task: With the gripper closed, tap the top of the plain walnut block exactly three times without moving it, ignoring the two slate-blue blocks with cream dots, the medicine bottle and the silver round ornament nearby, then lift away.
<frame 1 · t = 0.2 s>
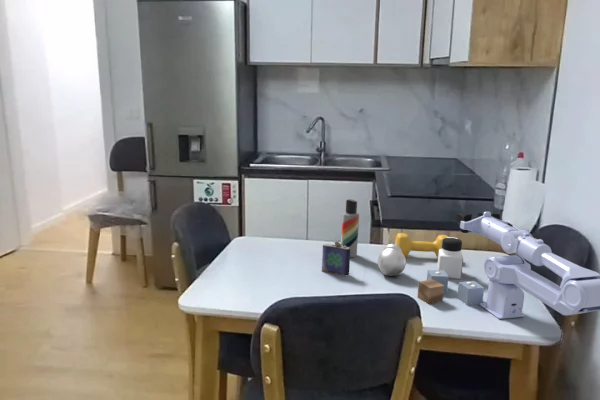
hand: (467, 216, 162), 21 cm above the table, tool horizontal, fingers open, 7 cm apart
medicine bottle: (448, 274, 174), on the table
lotion bottle: (348, 255, 189), on the table
dumbbell: (421, 257, 190), on the table
flask: (335, 273, 172), on the table
walnut block: (429, 299, 154), on the table
dotted block B: (469, 301, 154), on the table
silver round ornament: (390, 275, 172), on the table
dotted block A: (436, 288, 162), on the table
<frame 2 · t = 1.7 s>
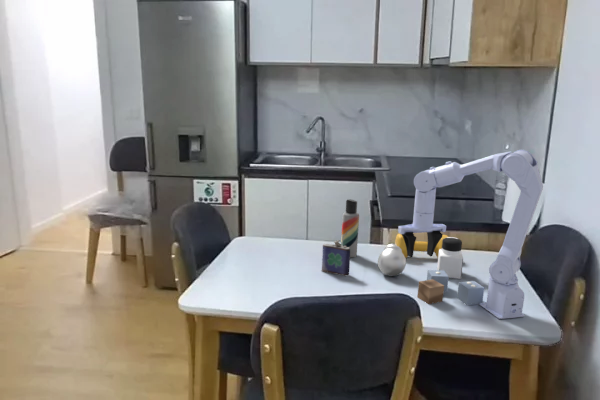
hand: (419, 255, 159), 10 cm above the table, tool pointing down, fingers open, 6 cm apart
nothing on the table moved.
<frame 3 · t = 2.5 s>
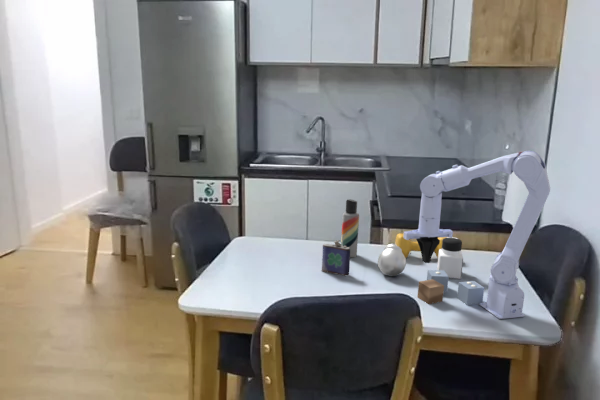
hand: (425, 261, 156), 10 cm above the table, tool pointing down, fingers closed
nothing on the table moved.
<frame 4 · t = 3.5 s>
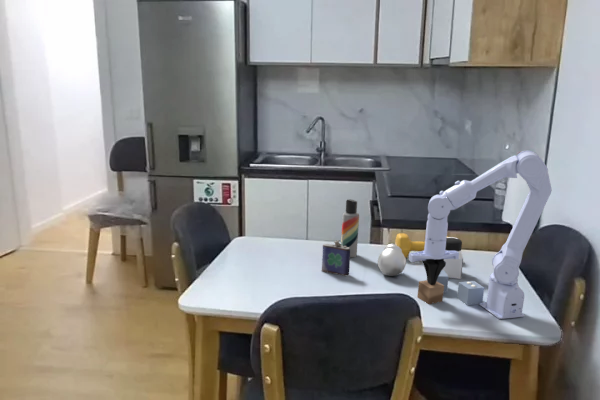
hand: (431, 283, 153), 5 cm above the table, tool pointing down, fingers closed, pressing on walnut block
walnut block: (429, 299, 154), on the table, touching gripper
everything else where it was.
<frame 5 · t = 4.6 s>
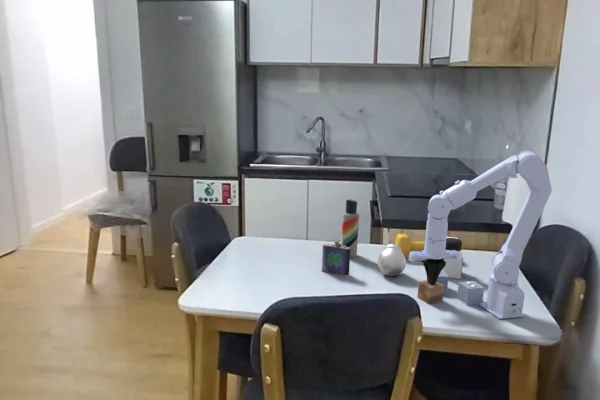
hand: (431, 283, 153), 5 cm above the table, tool pointing down, fingers closed, pressing on walnut block
walnut block: (429, 299, 154), on the table, touching gripper
everything else where it was.
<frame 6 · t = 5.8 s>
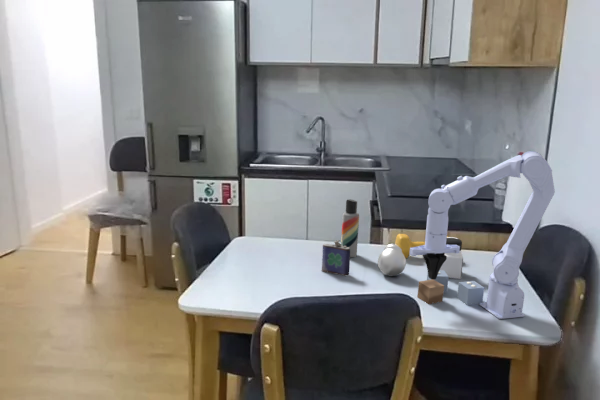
hand: (432, 278, 152), 7 cm above the table, tool pointing down, fingers closed
walnut block: (429, 299, 154), on the table
everything else where it was.
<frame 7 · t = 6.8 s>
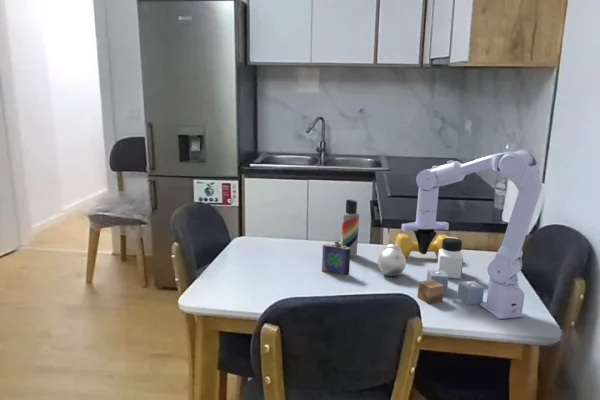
hand: (422, 253, 161), 10 cm above the table, tool pointing down, fingers closed
nothing on the table moved.
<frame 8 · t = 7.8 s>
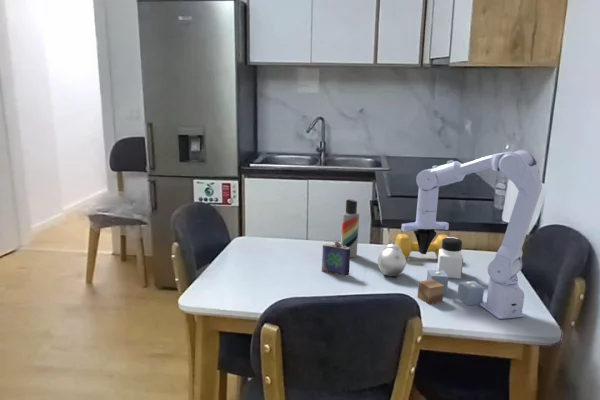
hand: (422, 253, 161), 10 cm above the table, tool pointing down, fingers closed
nothing on the table moved.
at the end: walnut block 0.0 cm from the target spot, on the table; walnut block tilted 0°; dotted block A moved 0.1 cm from its start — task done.
